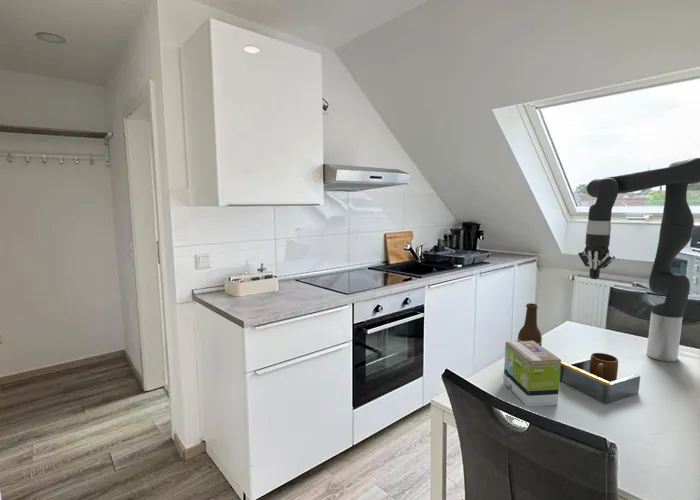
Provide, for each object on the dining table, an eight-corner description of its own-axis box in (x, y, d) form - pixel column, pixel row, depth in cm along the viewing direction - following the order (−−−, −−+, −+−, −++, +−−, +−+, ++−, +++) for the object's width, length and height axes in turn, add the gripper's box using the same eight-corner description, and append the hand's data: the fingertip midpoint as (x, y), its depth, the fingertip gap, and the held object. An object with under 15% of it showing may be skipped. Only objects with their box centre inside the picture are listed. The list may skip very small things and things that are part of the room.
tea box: (502, 383, 126) (504, 340, 124) (530, 381, 127) (533, 339, 125) (526, 407, 112) (529, 359, 109) (559, 406, 112) (562, 358, 110)
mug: (611, 397, 117) (614, 368, 116) (582, 389, 122) (585, 361, 121) (617, 383, 126) (620, 356, 124) (591, 376, 131) (593, 350, 130)
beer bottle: (538, 366, 139) (542, 302, 136) (541, 375, 132) (546, 308, 128) (515, 362, 142) (519, 300, 138) (516, 371, 134) (521, 306, 131)
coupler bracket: (590, 373, 133) (592, 354, 132) (638, 393, 119) (640, 373, 118) (559, 381, 127) (560, 362, 126) (605, 404, 113) (607, 383, 112)
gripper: (623, 234, 136) (618, 281, 138) (587, 231, 148) (583, 274, 150) (609, 234, 133) (605, 283, 135) (574, 231, 145) (570, 276, 147)
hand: (593, 278), depth 143 cm, fingers closed
